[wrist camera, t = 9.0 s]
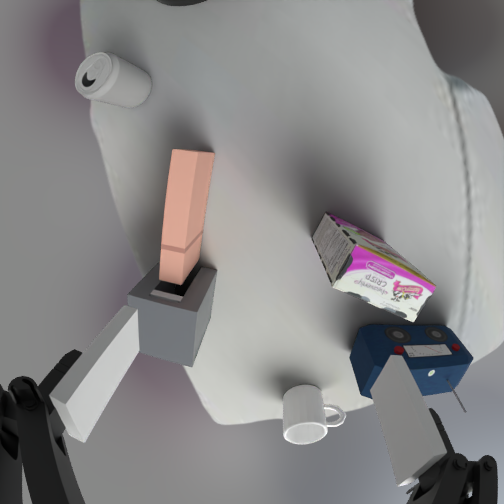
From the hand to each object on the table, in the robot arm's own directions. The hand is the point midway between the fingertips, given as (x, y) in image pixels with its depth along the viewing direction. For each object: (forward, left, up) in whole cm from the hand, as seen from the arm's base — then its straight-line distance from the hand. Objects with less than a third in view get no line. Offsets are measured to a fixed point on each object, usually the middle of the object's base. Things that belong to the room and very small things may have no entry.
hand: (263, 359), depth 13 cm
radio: (+16, +29, -29) cm, 44 cm away
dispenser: (+13, -11, -29) cm, 34 cm away
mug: (+33, +16, -29) cm, 47 cm away
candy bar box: (0, +12, -29) cm, 31 cm away
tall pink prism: (0, -11, -29) cm, 31 cm away
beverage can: (-17, -24, -29) cm, 41 cm away
